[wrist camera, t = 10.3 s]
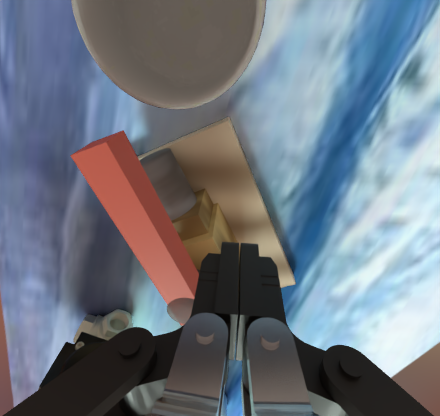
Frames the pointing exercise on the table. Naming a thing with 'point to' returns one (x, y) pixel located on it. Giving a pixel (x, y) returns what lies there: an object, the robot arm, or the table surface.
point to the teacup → (171, 45)
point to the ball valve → (88, 340)
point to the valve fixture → (213, 195)
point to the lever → (140, 219)
